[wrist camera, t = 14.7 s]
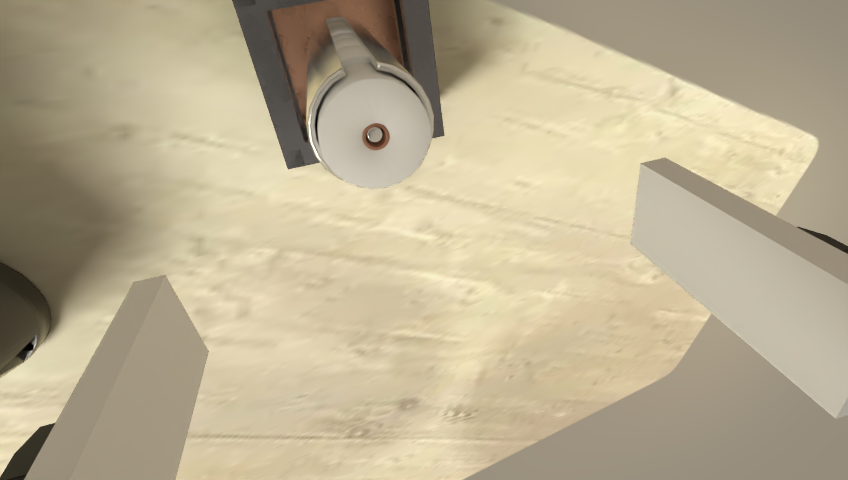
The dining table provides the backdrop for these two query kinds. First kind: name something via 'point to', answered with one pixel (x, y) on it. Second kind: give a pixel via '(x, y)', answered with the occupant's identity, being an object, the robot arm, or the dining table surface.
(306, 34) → the collar stand
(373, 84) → the white tall cylinder
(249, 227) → the dining table surface
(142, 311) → the robot arm
